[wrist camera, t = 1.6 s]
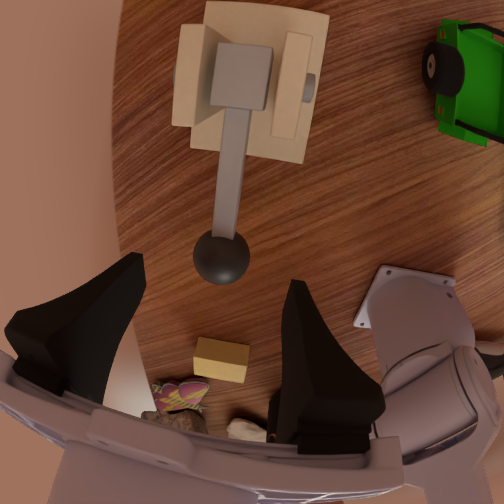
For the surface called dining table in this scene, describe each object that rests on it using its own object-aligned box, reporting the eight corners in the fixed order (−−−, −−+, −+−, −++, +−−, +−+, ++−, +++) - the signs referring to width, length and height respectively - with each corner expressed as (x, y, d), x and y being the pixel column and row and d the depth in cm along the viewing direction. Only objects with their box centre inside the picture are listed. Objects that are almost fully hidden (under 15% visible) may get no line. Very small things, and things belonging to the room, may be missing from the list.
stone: (137, 390, 48) (213, 397, 48) (156, 437, 54) (220, 443, 54) (117, 442, 36) (207, 455, 36) (145, 483, 41) (217, 492, 42)
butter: (250, 345, 32) (247, 366, 30) (246, 363, 35) (243, 383, 32) (198, 336, 32) (193, 356, 30) (199, 355, 35) (194, 374, 32)
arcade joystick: (248, 269, 17) (242, 300, 15) (199, 260, 17) (186, 290, 15) (282, 58, 12) (283, 47, 9) (220, 51, 12) (206, 40, 9)
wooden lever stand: (301, 160, 20) (313, 220, 13) (193, 144, 20) (139, 194, 13) (327, 17, 14) (362, -23, 6) (209, 3, 14) (157, -39, 6)
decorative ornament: (173, 372, 34) (235, 401, 37) (177, 359, 36) (237, 388, 39) (134, 400, 42) (183, 423, 45) (137, 390, 44) (185, 413, 47)
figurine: (537, 323, 24) (473, 337, 25) (524, 388, 23) (457, 414, 24) (507, 318, 31) (442, 327, 32) (497, 376, 31) (431, 394, 31)
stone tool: (248, 453, 58) (246, 470, 54) (205, 405, 44) (200, 430, 40) (301, 450, 56) (301, 468, 52) (279, 402, 42) (279, 429, 38)
